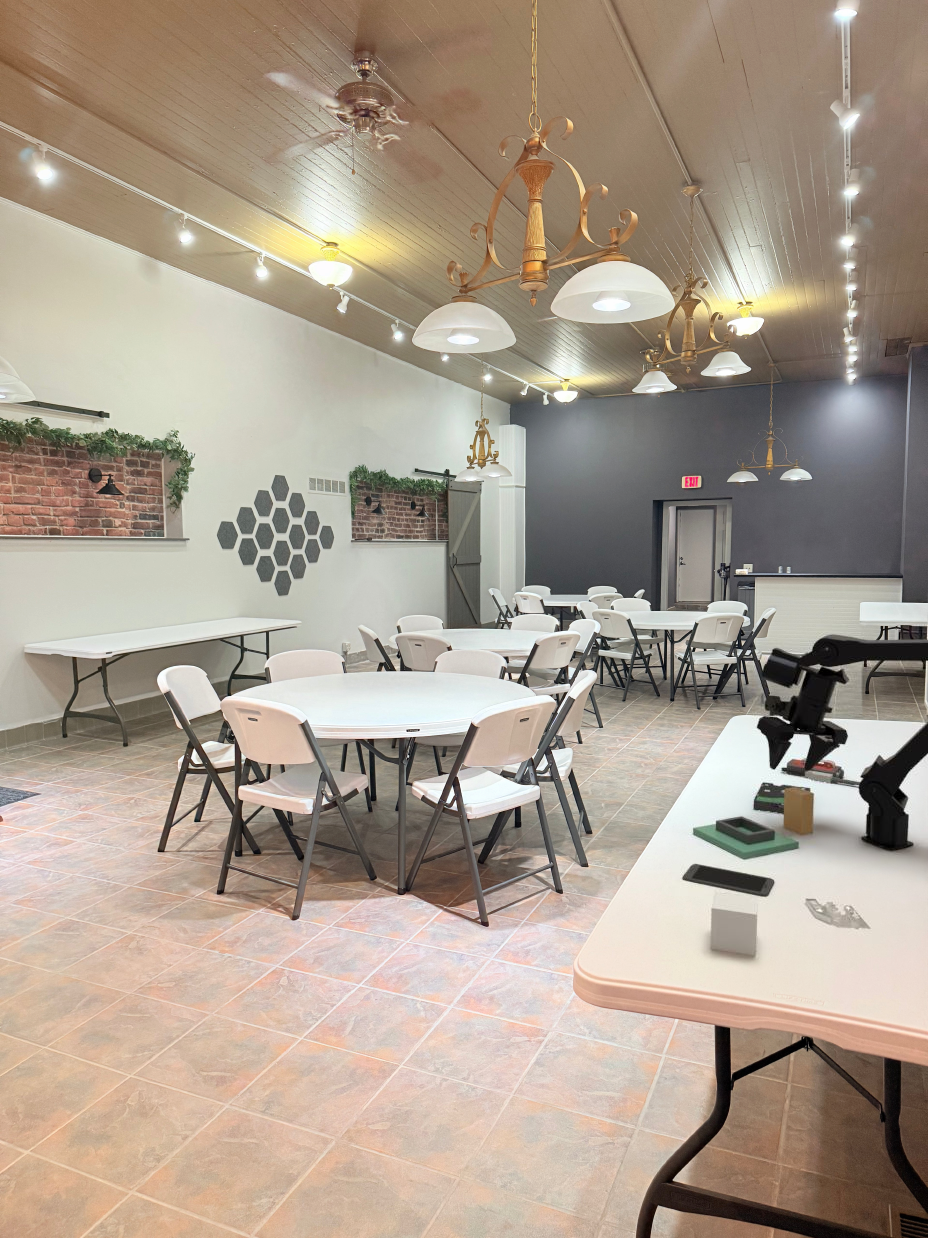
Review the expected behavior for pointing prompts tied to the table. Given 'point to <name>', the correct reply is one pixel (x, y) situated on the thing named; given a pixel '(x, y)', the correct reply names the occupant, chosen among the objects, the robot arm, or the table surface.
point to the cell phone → (729, 880)
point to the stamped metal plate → (836, 915)
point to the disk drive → (772, 797)
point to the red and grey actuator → (818, 771)
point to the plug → (798, 811)
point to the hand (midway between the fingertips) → (789, 769)
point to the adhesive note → (734, 923)
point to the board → (745, 837)
